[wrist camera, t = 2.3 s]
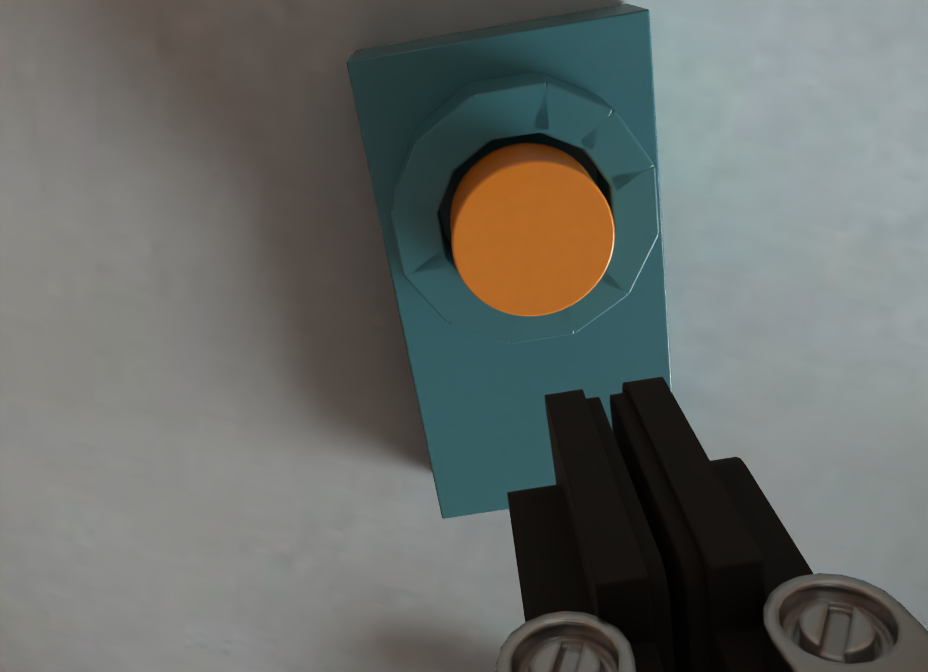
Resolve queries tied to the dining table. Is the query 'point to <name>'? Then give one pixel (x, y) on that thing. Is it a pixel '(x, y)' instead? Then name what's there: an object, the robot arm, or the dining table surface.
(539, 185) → the orange push button
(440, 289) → the push button base
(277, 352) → the dining table surface
